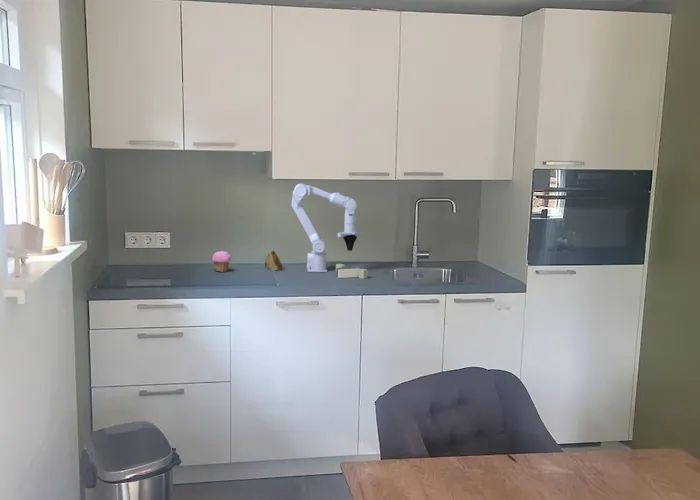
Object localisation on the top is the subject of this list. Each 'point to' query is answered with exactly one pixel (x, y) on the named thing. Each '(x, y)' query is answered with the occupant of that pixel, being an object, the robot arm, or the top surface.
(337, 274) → the block
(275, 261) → the rock
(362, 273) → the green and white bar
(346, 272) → the door
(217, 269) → the cupcake
